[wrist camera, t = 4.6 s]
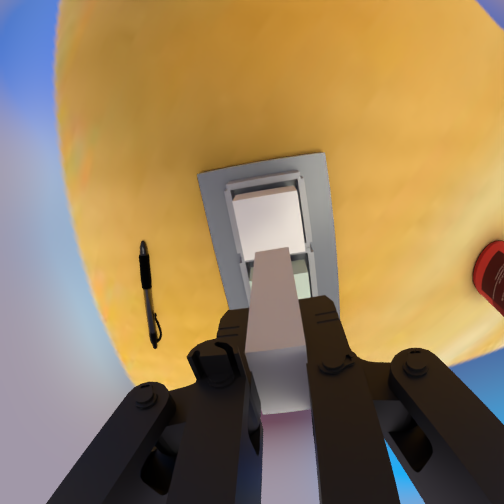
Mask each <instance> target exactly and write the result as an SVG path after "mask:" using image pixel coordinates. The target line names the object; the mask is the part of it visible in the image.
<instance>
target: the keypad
mask: <svg viewBox="0 0 504 504" xmlns="http://www.w3.org/2000/svg"><path fill="white" fill-rule="evenodd" d="M197 177H198V182H199V186H200V191H201V195H202V200H203V204H204V208H205V213H206V217H207V221H208V225H209V230H210V234H211V238H212V242H213V246H214V250H215V254H216V258H217V262H218V266H219V270H220V274H221V278H222V282H223V286H224V290H225V294H226V298H227V301H228V305H229V309H230V310H234V309H242V308H249V307H250V297H251V288H250V283H249V277H250V269H251V267H254V260H247V261H245V260H244V255H243V250H242V246H241V241H240V236H239V231H238V227H237V222H236V217H235V212H234V207H233V203H232V201H233V199H234V197H235V196H236V195H238V194H244V193H250V192H255V191H261V190H267V189H273V188H279V187H286V186H292V185H294V187H295V188H296V190H297V193H298V200H299V206H300V213H301V220H302V228H303V235H304V243H305V252H299V253H292V254H290V258H291V261H296V260H303V259H304V261H305V264H306V267H307V270H308V276H309V285H310V295H311V297H316V296H322V295H326V296H327V297H328V298H329V299H331V300H332V301H333V302H334V305H335V307H336V310H337V313H338V316H339V319H340V305H339V283H338V267H337V253H336V241H335V230H334V219H333V210H332V201H331V193H330V185H329V177H328V170H327V163H326V156H325V153H324V152H318V153H310V154H302V155H295V156H288V157H282V158H275V159H269V160H263V161H257V162H252V163H246V164H241V165H236V166H230V167H225V168H220V169H216V170H211V171H206V172H202V173H199V174H197Z"/></svg>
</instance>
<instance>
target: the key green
mask: <svg viewBox="0 0 504 504" xmlns="http://www.w3.org/2000/svg"><path fill="white" fill-rule="evenodd" d="M291 263H292V268H293V274H294V279H295V285H296V290H297V296H298V299H304V298H310V297H311V295H310V285H309V276H308V270H307V267H306V264H305V261H304V259H303V260H296V261H291ZM253 268H254V267H251V269H250V277H249V283H250V288H251V287H252V277H253Z"/></svg>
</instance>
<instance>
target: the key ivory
mask: <svg viewBox="0 0 504 504" xmlns="http://www.w3.org/2000/svg"><path fill="white" fill-rule="evenodd" d="M232 203H233V207H234V212H235V217H236V222H237V227H238V231H239V236H240V241H241V246H242V250H243V255H244V260H245V261H247V260H254V258H255V252H259V251H265V250H272V249H278V248H284V247H289V253H290V254H292V253H299V252H305V243H304V235H303V228H302V220H301V213H300V206H299V200H298V193H297V190H296V188H295V187H294V185H292V186H286V187H279V188H273V189H267V190H261V191H255V192H250V193H244V194H238V195H236V196H235V197H234V199H233V201H232Z"/></svg>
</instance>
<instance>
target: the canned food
mask: <svg viewBox="0 0 504 504" xmlns="http://www.w3.org/2000/svg"><path fill="white" fill-rule="evenodd" d="M473 281H474V285H475V287H476V289H477V291H478V292H479V293H480V294H481V295H482V296H483V297H484V298H485V299H486V300H487V301H488V302H489V303H490V304H491V305H492V306H494V307H495V308H496V309H497V310H498V311H499V312H500V313H501V314H502V315H503V316H504V241H495V242H493V243H491V244H489V245H488V246H487V247H486V248H485V249H484V250H483V251H482V253H481V254H480V256H479V258H478V260H477V262H476V265H475V268H474V274H473Z"/></svg>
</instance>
